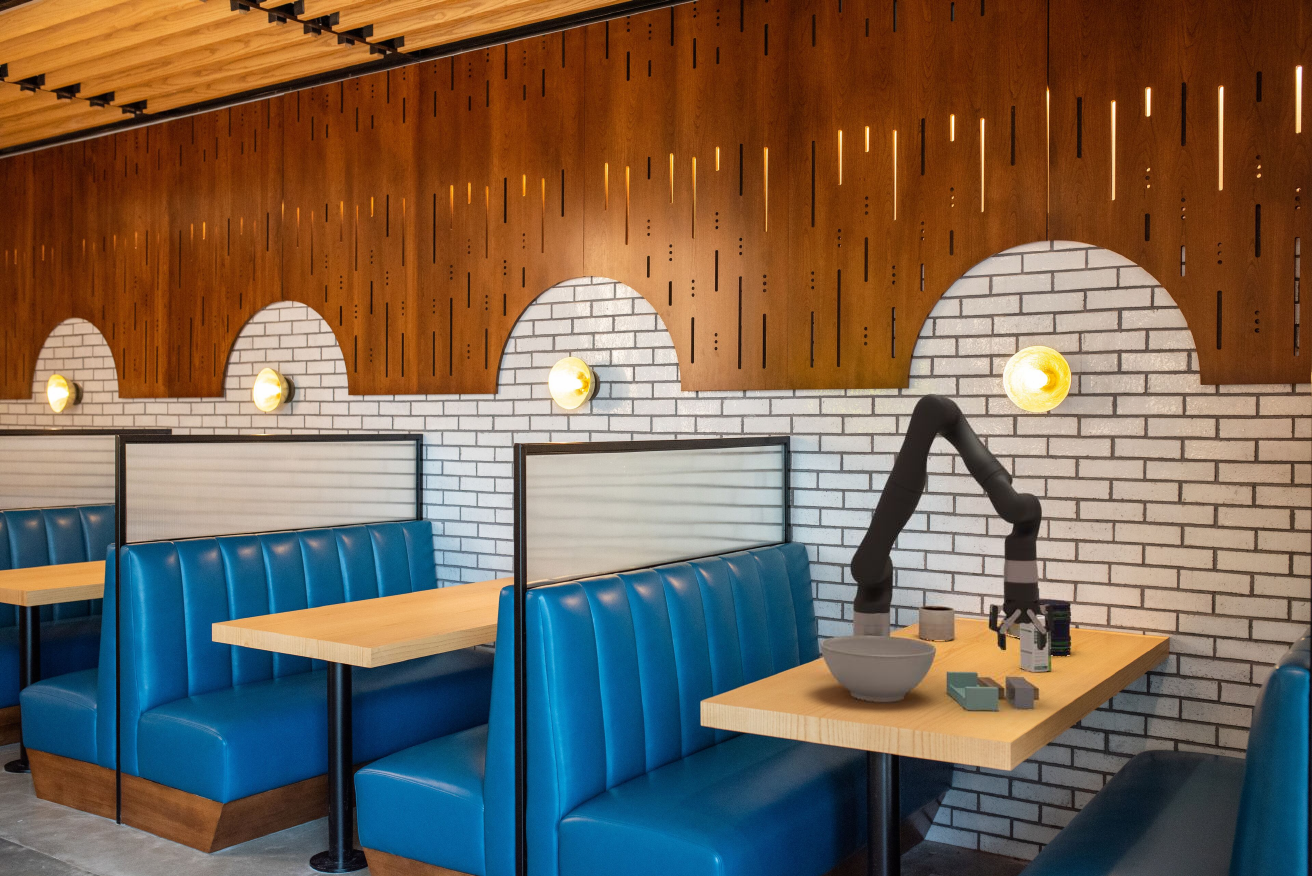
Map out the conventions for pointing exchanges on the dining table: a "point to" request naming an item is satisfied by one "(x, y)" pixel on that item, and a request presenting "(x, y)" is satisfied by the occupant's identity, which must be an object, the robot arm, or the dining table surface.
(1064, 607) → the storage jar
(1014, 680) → the grey rectangular block
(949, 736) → the dining table surface
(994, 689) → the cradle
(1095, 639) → the dining table surface
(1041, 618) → the syrup box
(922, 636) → the planter
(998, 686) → the slotted beam
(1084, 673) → the dining table surface
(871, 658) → the decorative bowl
